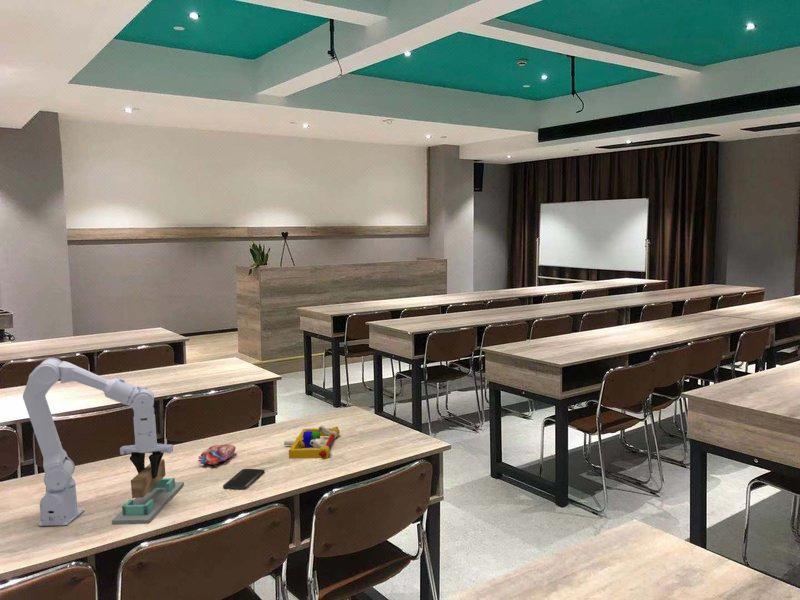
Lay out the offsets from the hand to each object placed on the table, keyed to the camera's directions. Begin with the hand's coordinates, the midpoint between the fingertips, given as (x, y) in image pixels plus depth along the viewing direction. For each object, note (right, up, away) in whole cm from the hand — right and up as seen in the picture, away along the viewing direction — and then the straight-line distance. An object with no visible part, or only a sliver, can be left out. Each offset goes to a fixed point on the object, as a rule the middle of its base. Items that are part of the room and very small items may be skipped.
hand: (148, 477), depth 179 cm
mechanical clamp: (+40, -3, +48) cm, 62 cm away
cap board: (0, -8, +1) cm, 8 cm away
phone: (+24, -6, +16) cm, 29 cm away
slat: (0, -3, 0) cm, 3 cm away
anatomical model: (+9, -5, +34) cm, 36 cm away
